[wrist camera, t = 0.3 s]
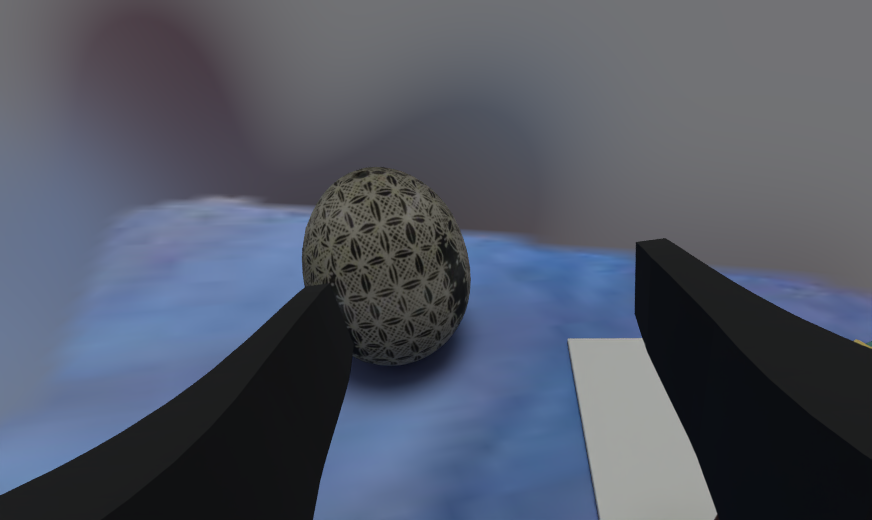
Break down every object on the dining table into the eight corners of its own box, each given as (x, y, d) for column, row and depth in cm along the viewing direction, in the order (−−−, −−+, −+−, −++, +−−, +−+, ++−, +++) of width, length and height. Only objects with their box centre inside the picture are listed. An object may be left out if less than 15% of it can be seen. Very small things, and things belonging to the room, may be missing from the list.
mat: (909, 576, 23) (913, 573, 23) (606, 560, 25) (607, 557, 25) (763, 341, 36) (764, 337, 36) (567, 342, 38) (567, 338, 37)
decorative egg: (436, 424, 33) (408, 238, 24) (298, 376, 37) (233, 205, 29) (495, 312, 41) (490, 144, 32) (376, 284, 46) (343, 131, 37)
